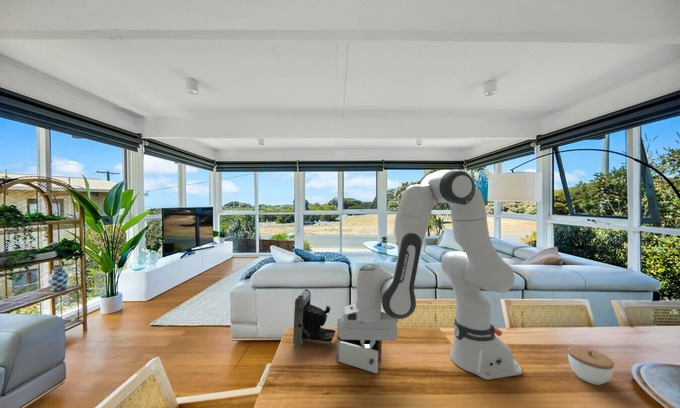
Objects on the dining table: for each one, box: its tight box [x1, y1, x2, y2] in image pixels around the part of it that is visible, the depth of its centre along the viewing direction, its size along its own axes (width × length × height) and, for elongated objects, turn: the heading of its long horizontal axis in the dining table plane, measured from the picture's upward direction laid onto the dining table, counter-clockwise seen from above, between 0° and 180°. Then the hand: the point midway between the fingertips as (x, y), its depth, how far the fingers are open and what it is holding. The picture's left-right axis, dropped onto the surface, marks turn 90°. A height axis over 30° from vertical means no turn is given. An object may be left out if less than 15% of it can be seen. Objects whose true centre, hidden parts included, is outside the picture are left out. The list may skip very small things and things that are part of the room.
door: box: [336, 340, 379, 374], centre depth 85 cm, size 15×2×7 cm, turn 66°
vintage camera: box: [292, 288, 337, 347], centre depth 100 cm, size 10×16×20 cm, turn 79°
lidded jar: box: [567, 345, 615, 386], centre depth 82 cm, size 11×11×9 cm
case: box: [336, 318, 383, 361], centre depth 96 cm, size 16×13×8 cm
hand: (367, 350), depth 86 cm, fingers closed
